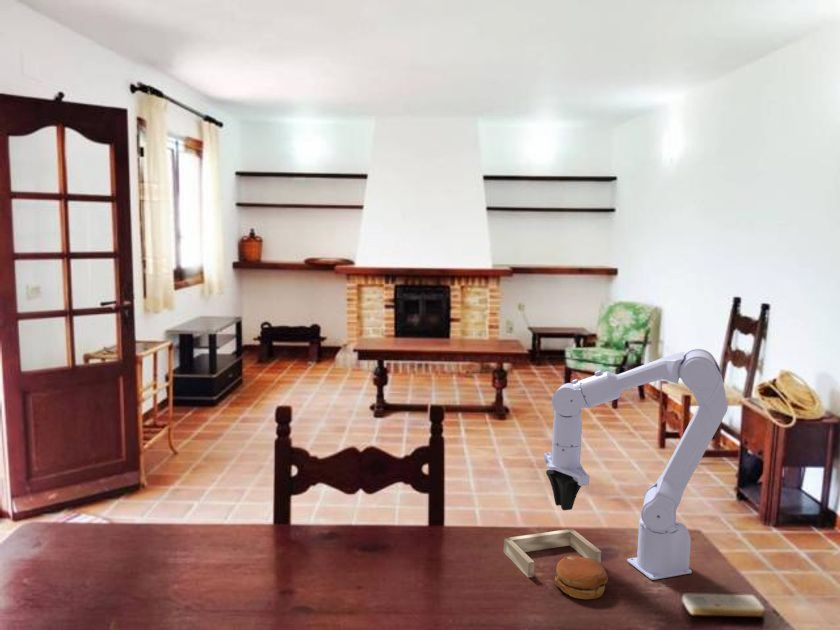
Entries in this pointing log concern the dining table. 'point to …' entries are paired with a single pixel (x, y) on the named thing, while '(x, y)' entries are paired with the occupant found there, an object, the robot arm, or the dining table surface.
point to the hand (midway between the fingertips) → (563, 506)
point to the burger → (581, 577)
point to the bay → (546, 547)
